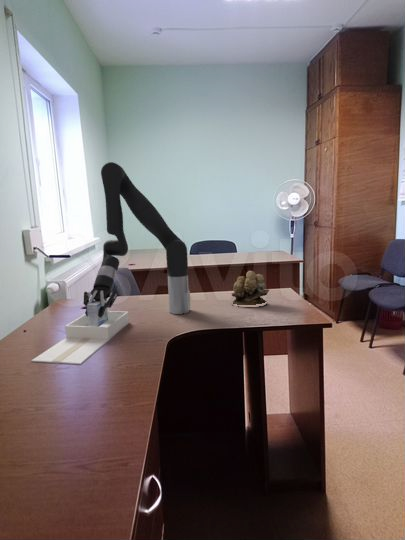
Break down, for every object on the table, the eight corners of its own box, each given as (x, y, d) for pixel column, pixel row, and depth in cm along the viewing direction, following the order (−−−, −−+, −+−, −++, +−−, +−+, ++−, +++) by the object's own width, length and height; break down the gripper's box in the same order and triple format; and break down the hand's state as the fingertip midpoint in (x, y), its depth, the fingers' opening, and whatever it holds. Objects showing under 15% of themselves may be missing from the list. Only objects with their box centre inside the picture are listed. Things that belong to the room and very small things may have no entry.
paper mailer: (129, 322, 141) (128, 311, 140) (80, 364, 103) (78, 349, 103) (92, 321, 144) (91, 310, 143) (31, 361, 107) (29, 346, 106)
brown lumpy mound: (266, 301, 167) (267, 267, 164) (270, 308, 156) (271, 272, 152) (231, 301, 168) (230, 268, 165) (232, 308, 156) (232, 273, 153)
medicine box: (98, 327, 128) (97, 305, 127) (88, 326, 129) (86, 305, 127) (108, 320, 136) (106, 299, 134) (98, 319, 137) (96, 299, 135)
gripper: (85, 273, 136) (72, 311, 127) (118, 274, 133) (107, 312, 124) (93, 283, 142) (81, 319, 133) (124, 284, 140) (114, 321, 130)
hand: (93, 316), depth 128 cm, fingers closed on medicine box, 4 cm apart
